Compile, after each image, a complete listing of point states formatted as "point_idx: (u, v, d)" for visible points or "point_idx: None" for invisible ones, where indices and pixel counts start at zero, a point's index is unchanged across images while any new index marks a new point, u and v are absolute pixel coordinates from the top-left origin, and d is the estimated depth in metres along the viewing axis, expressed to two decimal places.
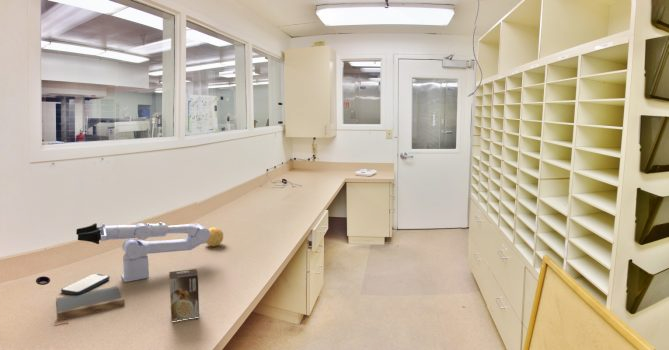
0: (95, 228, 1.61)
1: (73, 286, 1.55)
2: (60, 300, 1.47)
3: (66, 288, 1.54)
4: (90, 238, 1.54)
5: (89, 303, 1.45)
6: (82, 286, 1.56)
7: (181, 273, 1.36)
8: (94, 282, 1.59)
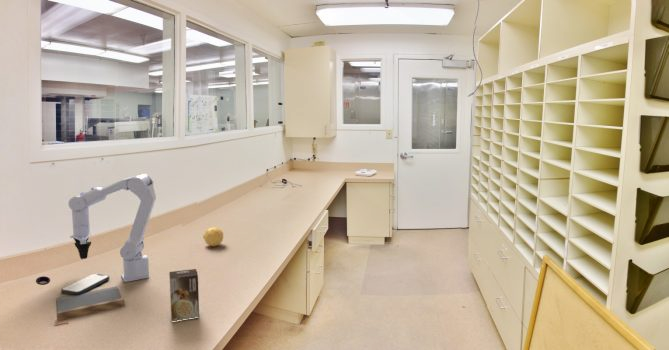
0: None
1: (73, 286, 1.55)
2: (60, 300, 1.47)
3: (66, 288, 1.54)
4: (85, 249, 1.62)
5: (89, 303, 1.45)
6: (82, 286, 1.56)
7: (182, 273, 1.36)
8: (94, 282, 1.59)
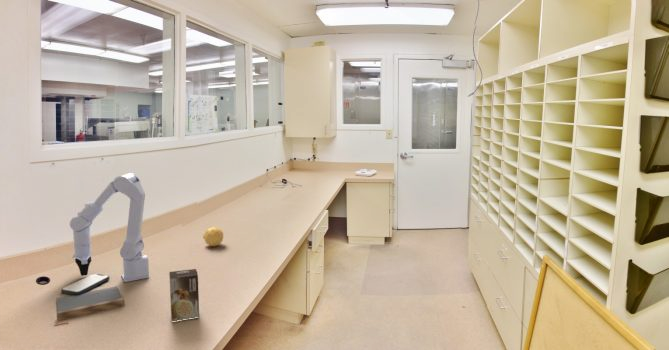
0: None
1: (73, 286, 1.55)
2: (60, 300, 1.47)
3: (66, 288, 1.54)
4: (85, 266, 1.66)
5: (89, 303, 1.45)
6: (82, 286, 1.56)
7: (182, 273, 1.36)
8: (94, 282, 1.59)
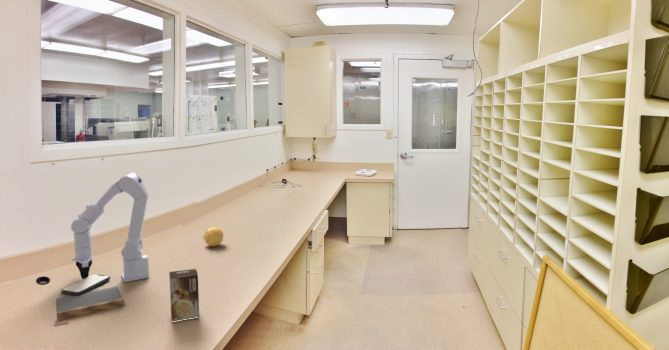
0: None
1: (73, 287, 1.55)
2: (60, 300, 1.47)
3: (66, 288, 1.53)
4: (86, 268, 1.64)
5: (89, 303, 1.45)
6: (82, 286, 1.55)
7: (182, 273, 1.36)
8: (94, 282, 1.59)
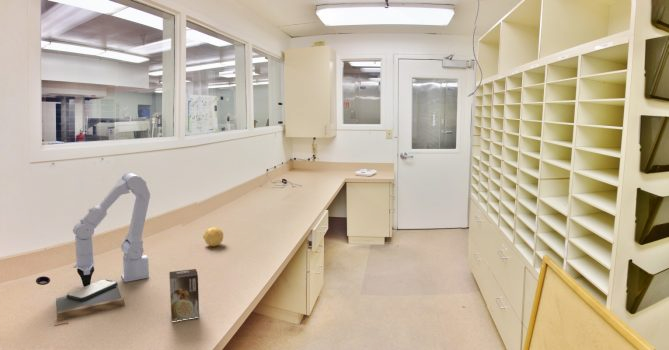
0: None
1: (79, 292, 1.51)
2: (60, 300, 1.47)
3: (71, 293, 1.49)
4: (88, 276, 1.57)
5: (89, 303, 1.45)
6: (87, 292, 1.50)
7: (182, 273, 1.36)
8: (100, 288, 1.54)
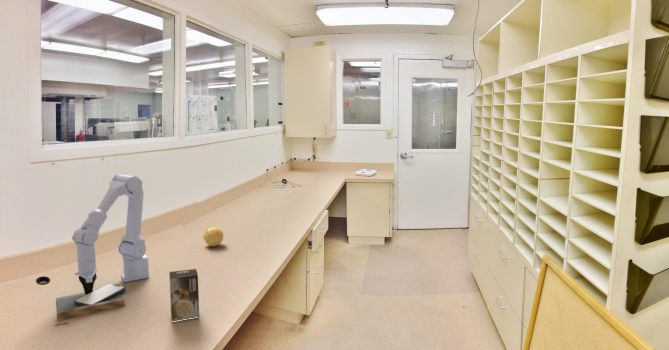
0: None
1: (87, 298, 1.46)
2: (60, 300, 1.47)
3: (79, 300, 1.45)
4: (90, 283, 1.50)
5: None
6: (96, 298, 1.46)
7: (182, 273, 1.36)
8: (109, 294, 1.50)
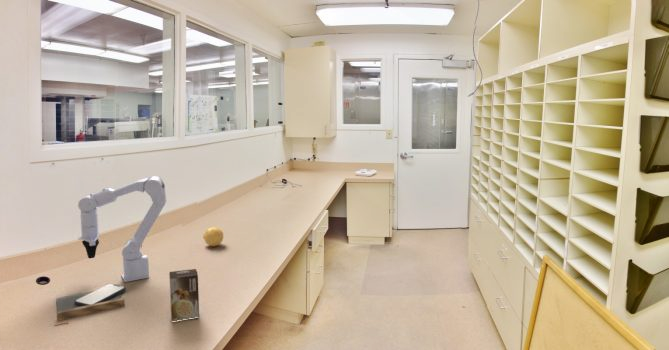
0: None
1: (87, 298, 1.46)
2: (60, 300, 1.47)
3: (79, 300, 1.45)
4: (93, 248, 1.62)
5: None
6: (96, 298, 1.46)
7: (182, 273, 1.36)
8: (109, 294, 1.50)
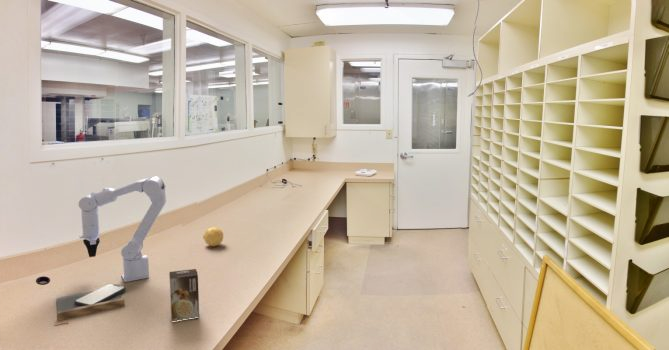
0: None
1: (87, 298, 1.46)
2: (60, 300, 1.47)
3: (79, 300, 1.45)
4: (93, 247, 1.63)
5: None
6: (96, 298, 1.46)
7: (182, 273, 1.36)
8: (109, 294, 1.50)
